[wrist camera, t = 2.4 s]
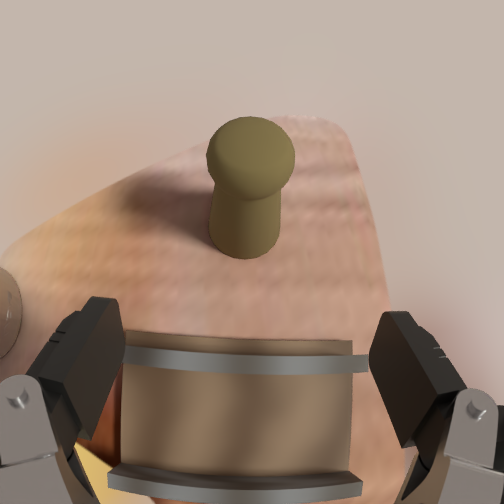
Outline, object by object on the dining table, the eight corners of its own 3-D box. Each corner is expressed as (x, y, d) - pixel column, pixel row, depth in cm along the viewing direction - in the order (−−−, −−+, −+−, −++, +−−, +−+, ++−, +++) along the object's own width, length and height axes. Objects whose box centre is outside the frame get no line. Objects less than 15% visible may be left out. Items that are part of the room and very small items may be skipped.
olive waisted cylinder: (199, 205, 28) (185, 114, 17) (265, 187, 29) (281, 94, 18) (220, 269, 26) (214, 197, 15) (291, 246, 27) (325, 168, 16)
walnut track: (125, 486, 18) (109, 502, 15) (130, 331, 23) (112, 324, 20) (341, 493, 19) (359, 510, 16) (347, 341, 24) (367, 335, 20)
